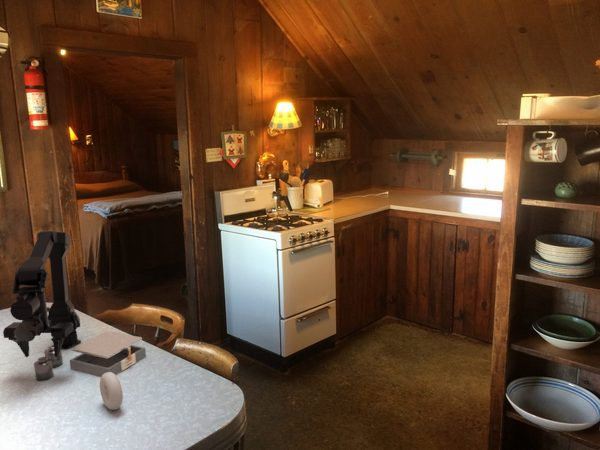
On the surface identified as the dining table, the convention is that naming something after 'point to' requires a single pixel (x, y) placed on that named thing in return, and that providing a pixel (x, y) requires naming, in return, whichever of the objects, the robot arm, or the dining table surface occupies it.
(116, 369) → the scale base
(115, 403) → the donut
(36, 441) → the dining table surface
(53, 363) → the weight
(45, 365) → the weight
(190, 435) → the dining table surface
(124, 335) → the scale pan
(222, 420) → the dining table surface
